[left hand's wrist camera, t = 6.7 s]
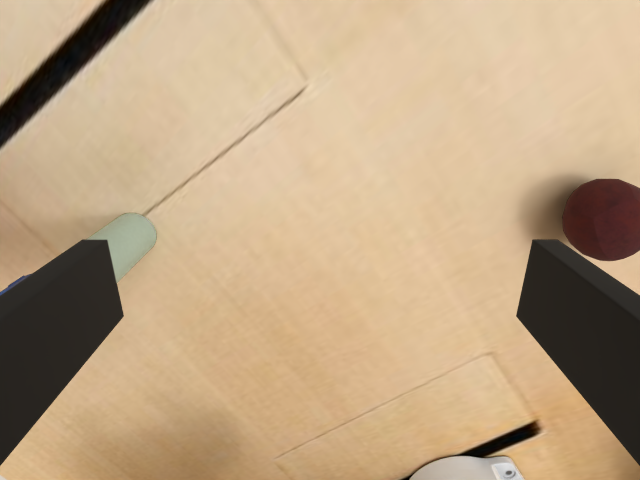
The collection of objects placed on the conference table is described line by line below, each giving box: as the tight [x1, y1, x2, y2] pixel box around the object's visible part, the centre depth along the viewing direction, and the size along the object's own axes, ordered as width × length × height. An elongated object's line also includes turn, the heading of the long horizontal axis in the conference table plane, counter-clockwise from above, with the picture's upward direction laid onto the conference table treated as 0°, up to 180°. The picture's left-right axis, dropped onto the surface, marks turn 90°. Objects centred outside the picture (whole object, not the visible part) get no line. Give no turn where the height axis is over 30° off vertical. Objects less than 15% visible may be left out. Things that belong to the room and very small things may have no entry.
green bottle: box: [86, 213, 156, 283], centre depth 35 cm, size 4×4×16 cm
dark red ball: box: [562, 179, 640, 261], centre depth 38 cm, size 7×8×7 cm
